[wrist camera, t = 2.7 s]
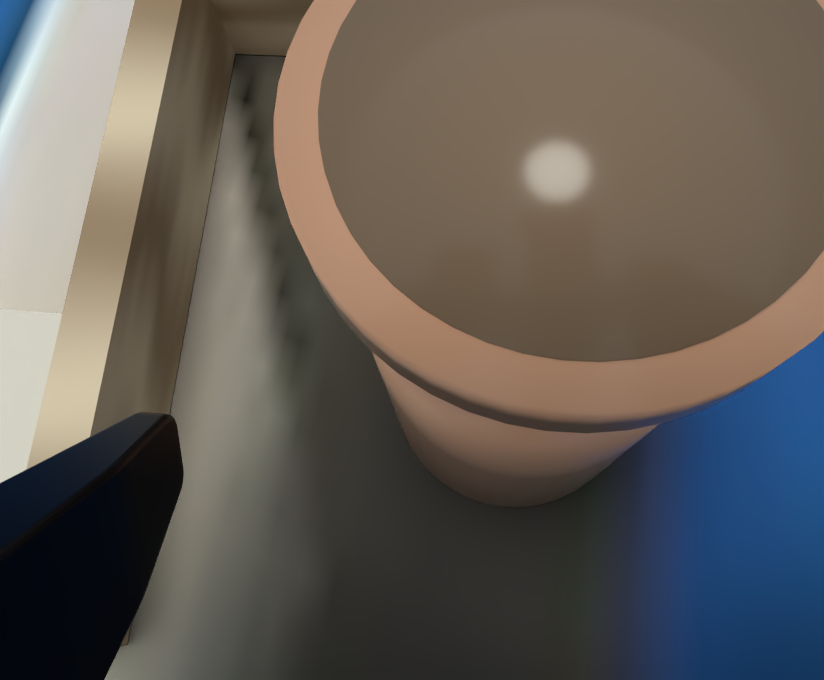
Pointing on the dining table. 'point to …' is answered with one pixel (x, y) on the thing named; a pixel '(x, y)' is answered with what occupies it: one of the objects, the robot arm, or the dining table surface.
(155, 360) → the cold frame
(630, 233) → the terracotta pot
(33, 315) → the stone tile
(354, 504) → the dining table surface
